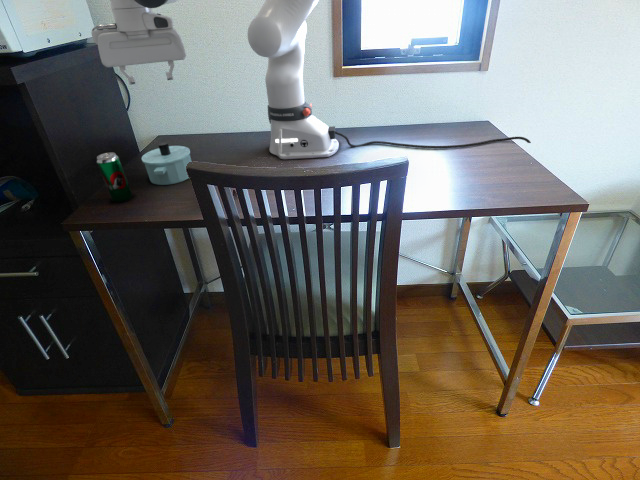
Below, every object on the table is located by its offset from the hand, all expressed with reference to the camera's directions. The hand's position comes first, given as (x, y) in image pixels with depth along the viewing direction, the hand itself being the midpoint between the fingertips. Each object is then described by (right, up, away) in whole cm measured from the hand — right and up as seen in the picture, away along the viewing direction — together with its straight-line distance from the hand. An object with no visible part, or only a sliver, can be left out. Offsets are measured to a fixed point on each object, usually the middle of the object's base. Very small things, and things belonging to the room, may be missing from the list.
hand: (151, 81), depth 101 cm
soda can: (-8, -31, 0) cm, 32 cm away
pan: (+1, -23, +11) cm, 25 cm away
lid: (+1, -18, +8) cm, 19 cm away
